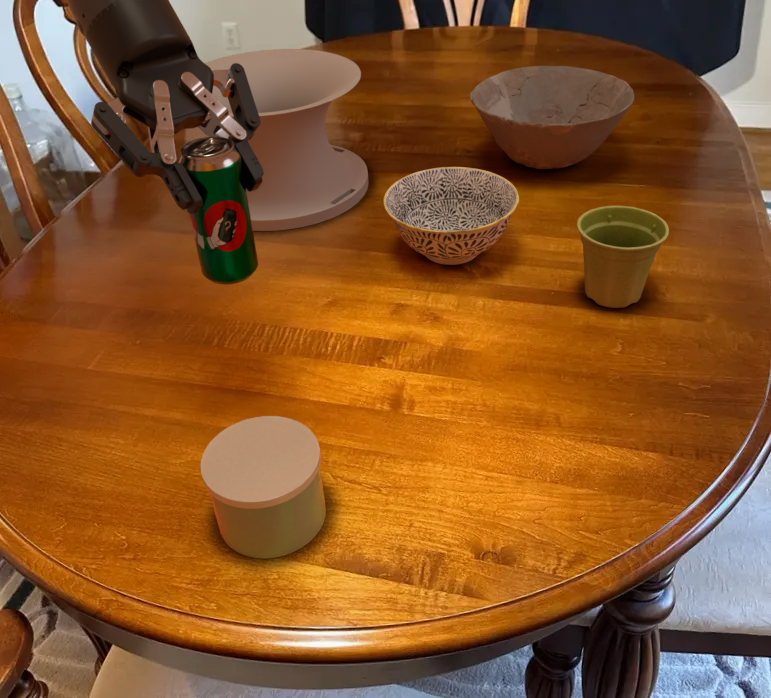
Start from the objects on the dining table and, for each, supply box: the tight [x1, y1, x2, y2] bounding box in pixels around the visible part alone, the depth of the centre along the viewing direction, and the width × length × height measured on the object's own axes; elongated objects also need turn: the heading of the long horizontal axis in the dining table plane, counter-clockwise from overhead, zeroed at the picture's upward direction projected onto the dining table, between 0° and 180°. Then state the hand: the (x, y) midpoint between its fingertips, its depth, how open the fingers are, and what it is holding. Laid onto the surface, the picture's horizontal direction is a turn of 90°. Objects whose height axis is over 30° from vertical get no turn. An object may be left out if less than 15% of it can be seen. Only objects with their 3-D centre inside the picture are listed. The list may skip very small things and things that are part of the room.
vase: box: [204, 48, 370, 232], centre depth 110 cm, size 25×25×16 cm
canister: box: [199, 415, 327, 559], centre depth 65 cm, size 9×9×7 cm
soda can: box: [178, 136, 259, 286], centre depth 68 cm, size 5×5×12 cm
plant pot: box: [576, 205, 670, 309], centre depth 87 cm, size 9×9×9 cm
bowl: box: [382, 166, 520, 266], centre depth 97 cm, size 16×16×8 cm
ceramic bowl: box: [469, 65, 635, 170], centre depth 115 cm, size 22×23×10 cm
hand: (227, 196), depth 66 cm, fingers closed on soda can, 5 cm apart
